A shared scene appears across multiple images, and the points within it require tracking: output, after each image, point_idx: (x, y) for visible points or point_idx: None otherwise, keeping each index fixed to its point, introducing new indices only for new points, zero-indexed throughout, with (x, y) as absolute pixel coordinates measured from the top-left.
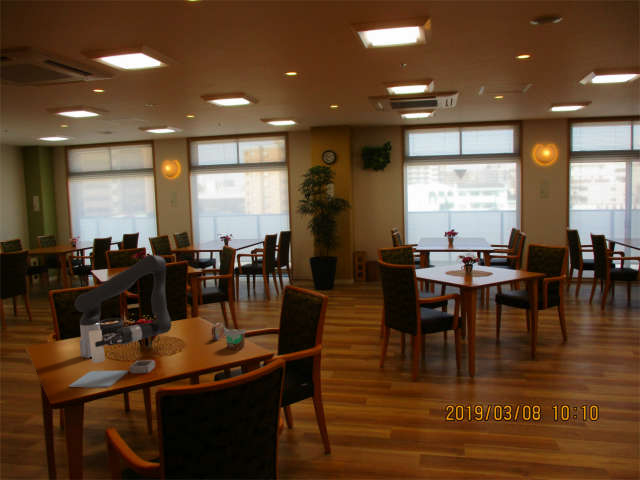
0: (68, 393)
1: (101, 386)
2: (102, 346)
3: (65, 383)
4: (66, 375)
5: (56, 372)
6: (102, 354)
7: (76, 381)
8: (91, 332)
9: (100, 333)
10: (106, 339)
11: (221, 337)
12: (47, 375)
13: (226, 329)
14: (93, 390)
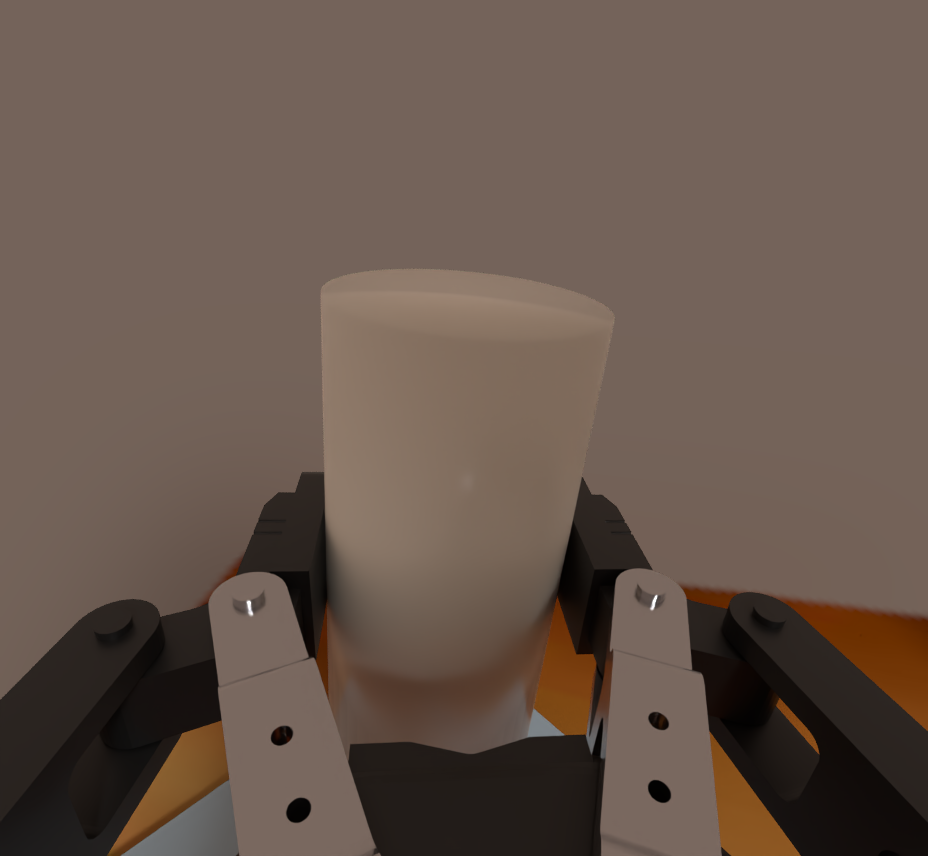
0: (326, 609)
1: (166, 830)
2: (347, 665)
3: (564, 651)
4: (786, 711)
5: (913, 680)
6: None
7: None
8: (388, 271)
9: (338, 388)
10: (258, 615)
11: None
12: (846, 622)
13: None
14: (181, 746)
